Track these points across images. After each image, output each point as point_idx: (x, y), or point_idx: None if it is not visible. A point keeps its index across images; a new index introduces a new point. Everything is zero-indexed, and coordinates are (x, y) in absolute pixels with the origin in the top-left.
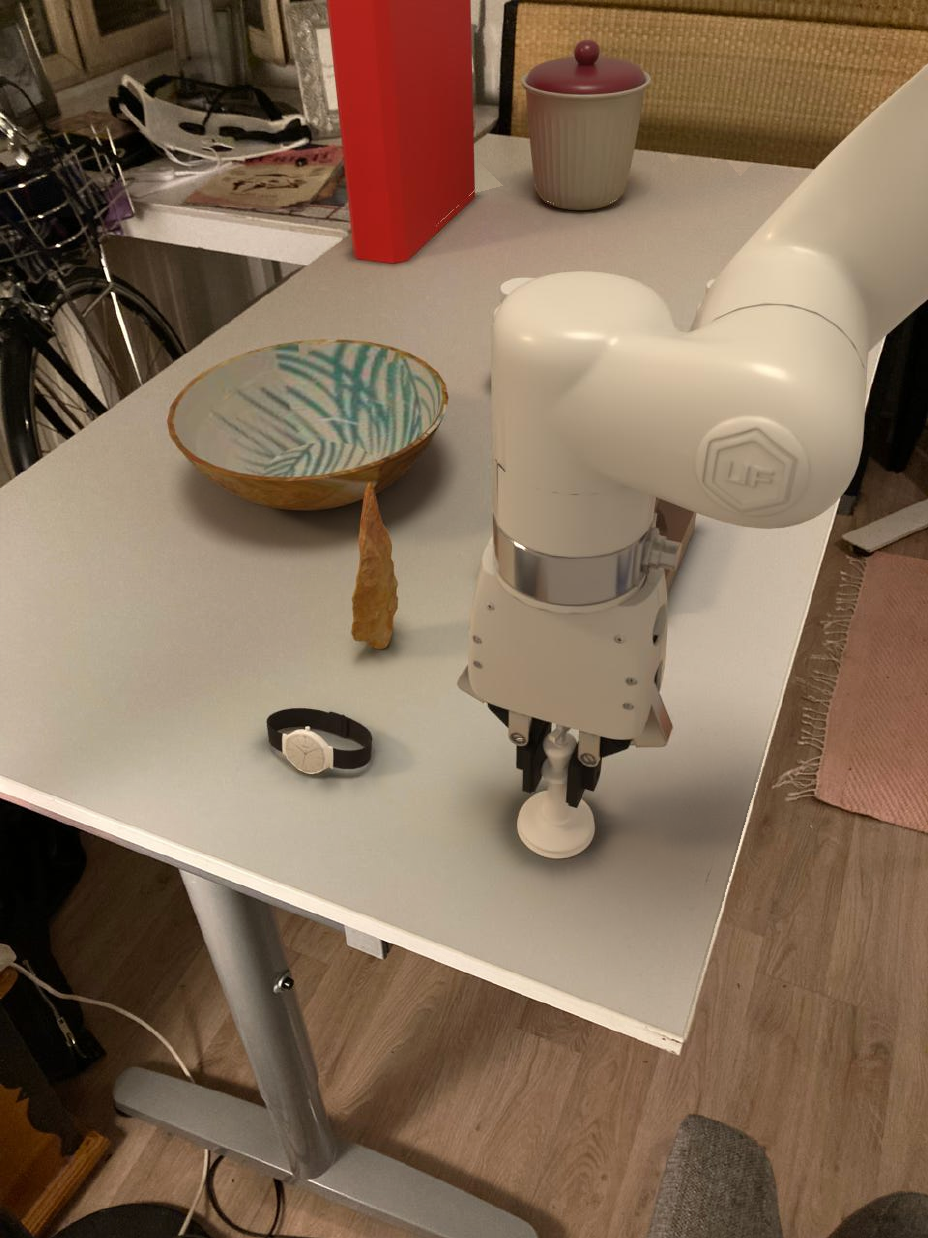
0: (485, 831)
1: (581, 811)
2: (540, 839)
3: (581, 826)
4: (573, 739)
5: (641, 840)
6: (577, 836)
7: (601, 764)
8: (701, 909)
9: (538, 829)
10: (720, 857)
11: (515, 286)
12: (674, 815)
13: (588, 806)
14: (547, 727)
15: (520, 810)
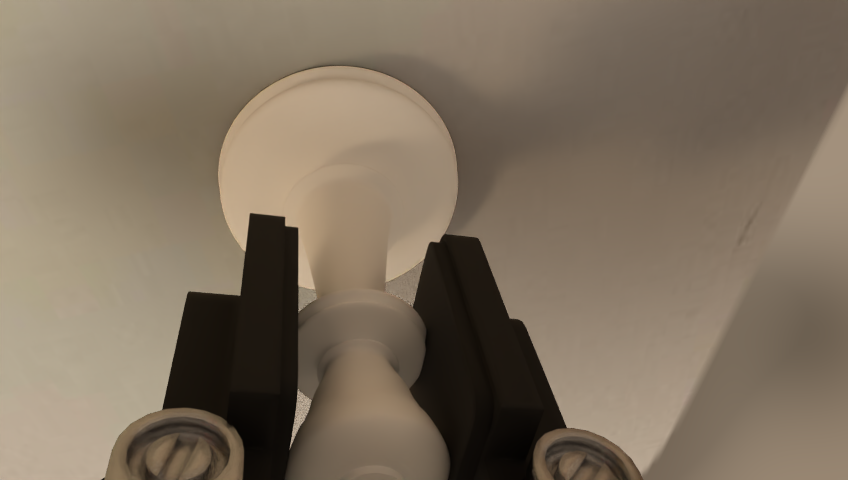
0: (135, 239)
1: (418, 171)
2: (311, 279)
3: (424, 219)
4: (430, 462)
5: (589, 166)
6: (416, 250)
7: (535, 352)
8: (713, 309)
9: (298, 258)
10: (792, 170)
11: None
12: (693, 60)
13: (436, 128)
14: (288, 449)
15: (221, 191)
